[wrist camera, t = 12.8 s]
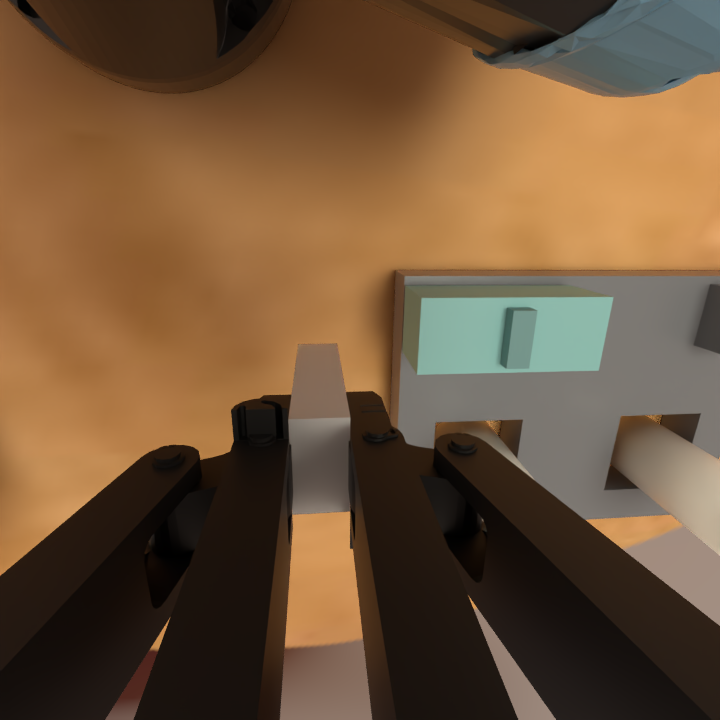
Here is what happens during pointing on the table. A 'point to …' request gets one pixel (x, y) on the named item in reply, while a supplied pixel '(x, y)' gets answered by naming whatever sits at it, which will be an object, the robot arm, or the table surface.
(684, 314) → the housing
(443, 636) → the robot arm
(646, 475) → the cream peg
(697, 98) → the table surface
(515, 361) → the lid
